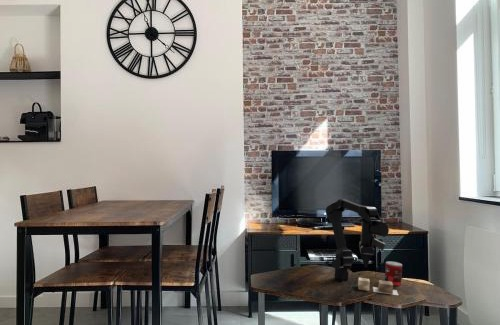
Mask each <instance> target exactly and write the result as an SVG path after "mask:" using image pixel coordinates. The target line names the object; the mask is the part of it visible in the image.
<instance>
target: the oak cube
mask: <svg viewBox="0 0 500 325" xmlns="http://www.w3.org/2000/svg"><path fill="white" fill-rule="evenodd" d="M357 283H358V284H357V290H360V291H361V290H362V291H367V292H368V291H370V284H371V281H370V278H365V277H358V282H357Z"/></svg>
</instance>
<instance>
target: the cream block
mask: <svg viewBox="0 0 500 325" xmlns="http://www.w3.org/2000/svg"><path fill="white" fill-rule="evenodd" d="M377 288H378V289H379V292H384V293H383V294H386V293H391V294H390V295H392V294H393V290H394V286H393V283H392V282H390V281H385V280H378V286H377ZM379 292H378V293H379Z"/></svg>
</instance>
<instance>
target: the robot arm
mask: <svg viewBox="0 0 500 325" xmlns="http://www.w3.org/2000/svg"><path fill="white" fill-rule="evenodd" d="M346 209H347V210H349V211H351V212H354V213H356V214H357V215H358V216H359V217H360V219H358V222H359V223H361V232H360V241H359V243H358V246H359V252H360V257H361V259H362V263H363V266H364V268H368V265H369V262H370V259H371V258H372V257H373V256H375V253H376V252H375V247H376V248H377V249H379V250H381V251H384V250H385V247H386V246H387V244H386V243H385V242H384V240H383V239H382V238H380V237H383V238H384V237H387V236H388V234H389V232H390V229H389V226H388V225H387V221H383V220H382V219H381V217H380V214H379V213H378V210H377V208H376V207H375V206H371V205H370V206H368V205H362V204H359V203H356V202H354V201H351V200H348V199H346V198H340V199H338V200H337V201H335V202H333V203H331V204H329V205H327V207H326V208H325V213H326V217H327V219H328V220H329V222H330V223H331V226H332V231H333V236H334V237H333V238H334V240H335V245H336V253H335V259H334V260H333V261H332V262H331V268H333V269H334V277H333V281H338V282H348V280H349V272H350V271H349V269H351V268H352V266H353V263H354V256H353V251H352V250H350V249H349V248H348V247H347V244H346V243H347V242H346V239H345V234H344V229H343V226H342V218H343V213H344V212H345V211H346ZM375 235H376V236H378V237H379V236H380V237H379V238H375Z"/></svg>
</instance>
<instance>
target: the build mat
mask: <svg viewBox="0 0 500 325" xmlns="http://www.w3.org/2000/svg"><path fill="white" fill-rule="evenodd" d="M372 290H373V293H374V292H375V293H380V294H388V295H395V296H399V293H398V290H397V289H393V294H391V293H384V292H379V289H378V286H377V287H375V286H372Z"/></svg>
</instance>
